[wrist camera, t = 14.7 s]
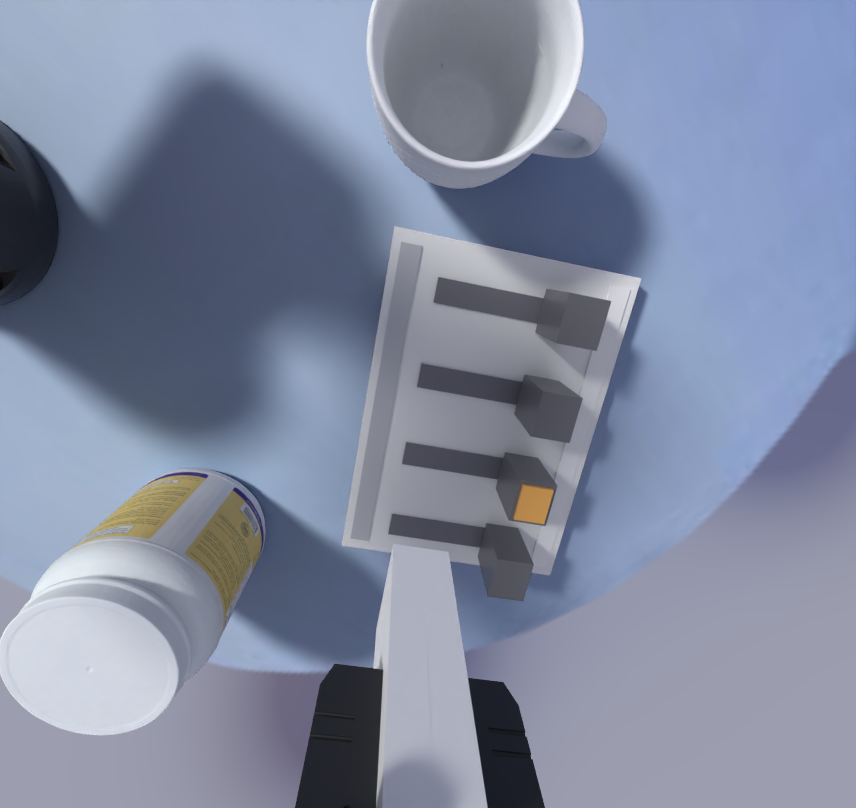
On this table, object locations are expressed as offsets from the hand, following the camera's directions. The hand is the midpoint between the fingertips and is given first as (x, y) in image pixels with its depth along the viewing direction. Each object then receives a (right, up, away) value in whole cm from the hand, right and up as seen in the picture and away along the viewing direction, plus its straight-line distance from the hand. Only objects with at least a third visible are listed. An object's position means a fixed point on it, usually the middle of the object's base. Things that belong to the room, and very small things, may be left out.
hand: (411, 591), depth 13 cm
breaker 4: (+7, -8, +31) cm, 32 cm away
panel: (+5, +4, +30) cm, 30 cm away
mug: (+3, +26, +23) cm, 35 cm away
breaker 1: (+11, +12, +25) cm, 30 cm away
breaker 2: (+9, +6, +27) cm, 29 cm away
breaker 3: (+8, -1, +29) cm, 30 cm away
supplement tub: (-21, -6, +32) cm, 38 cm away
